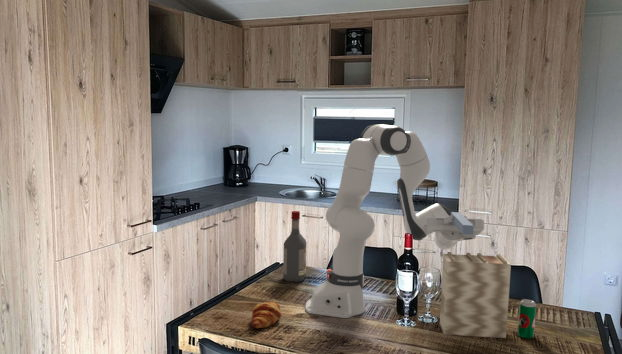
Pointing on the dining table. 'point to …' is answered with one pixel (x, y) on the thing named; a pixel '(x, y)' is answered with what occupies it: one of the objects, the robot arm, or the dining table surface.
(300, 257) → the liquor
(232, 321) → the dining table surface
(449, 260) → the zigzag patterned box
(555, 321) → the dining table surface
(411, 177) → the robot arm
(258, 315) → the croissant
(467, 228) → the beam
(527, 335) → the soda can
